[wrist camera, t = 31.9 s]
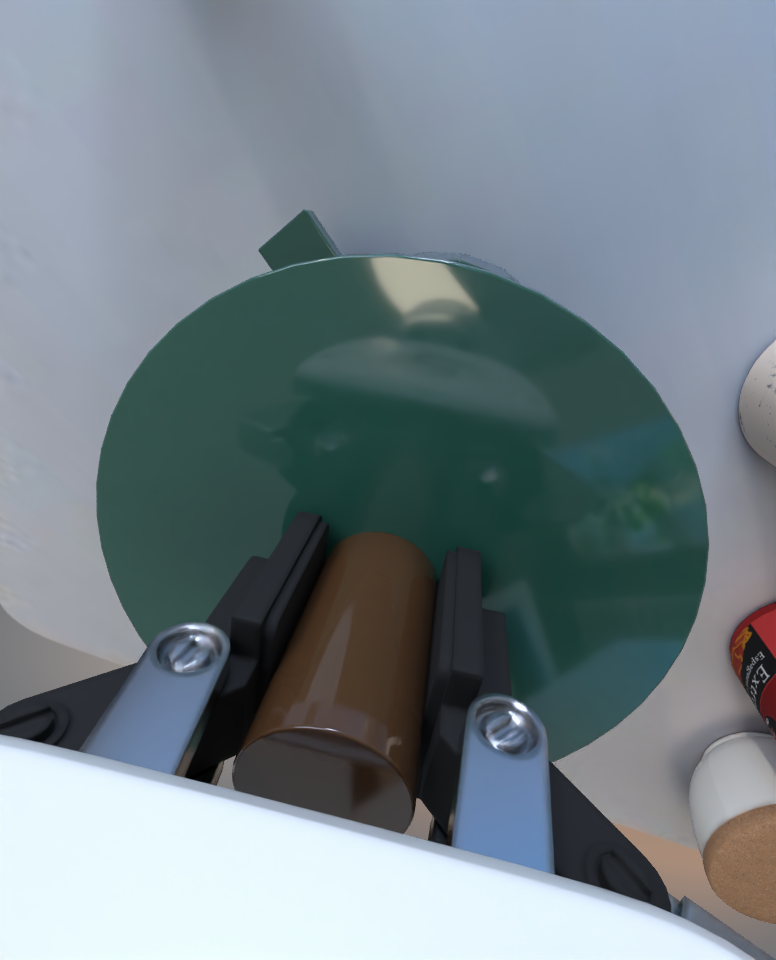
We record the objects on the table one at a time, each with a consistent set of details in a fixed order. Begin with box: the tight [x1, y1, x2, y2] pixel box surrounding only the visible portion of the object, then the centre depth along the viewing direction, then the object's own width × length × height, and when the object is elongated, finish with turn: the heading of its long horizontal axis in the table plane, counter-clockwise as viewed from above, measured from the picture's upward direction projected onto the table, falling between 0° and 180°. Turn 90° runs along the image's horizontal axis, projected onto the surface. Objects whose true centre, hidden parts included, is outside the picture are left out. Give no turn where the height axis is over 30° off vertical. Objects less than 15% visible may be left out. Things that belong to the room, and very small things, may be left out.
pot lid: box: [96, 253, 709, 834], centre depth 11 cm, size 15×15×7 cm
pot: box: [259, 209, 521, 284], centre depth 26 cm, size 14×19×10 cm
